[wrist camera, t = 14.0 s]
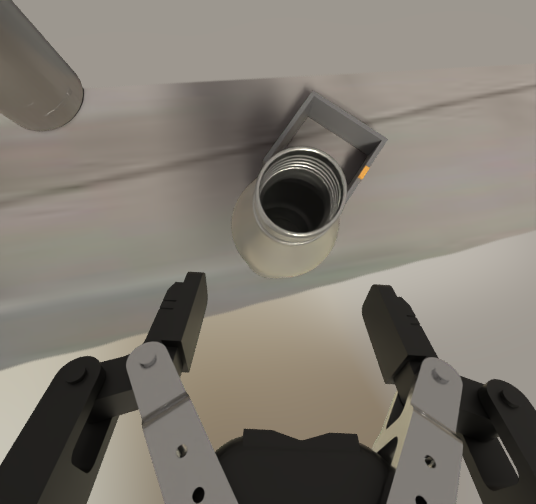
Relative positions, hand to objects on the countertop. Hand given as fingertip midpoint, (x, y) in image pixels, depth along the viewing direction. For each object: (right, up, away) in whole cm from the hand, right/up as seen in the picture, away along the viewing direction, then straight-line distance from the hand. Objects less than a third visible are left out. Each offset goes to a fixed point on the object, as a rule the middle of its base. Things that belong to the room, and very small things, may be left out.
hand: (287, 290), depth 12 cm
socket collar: (+5, +13, +19) cm, 23 cm away
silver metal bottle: (0, +2, +18) cm, 18 cm away
